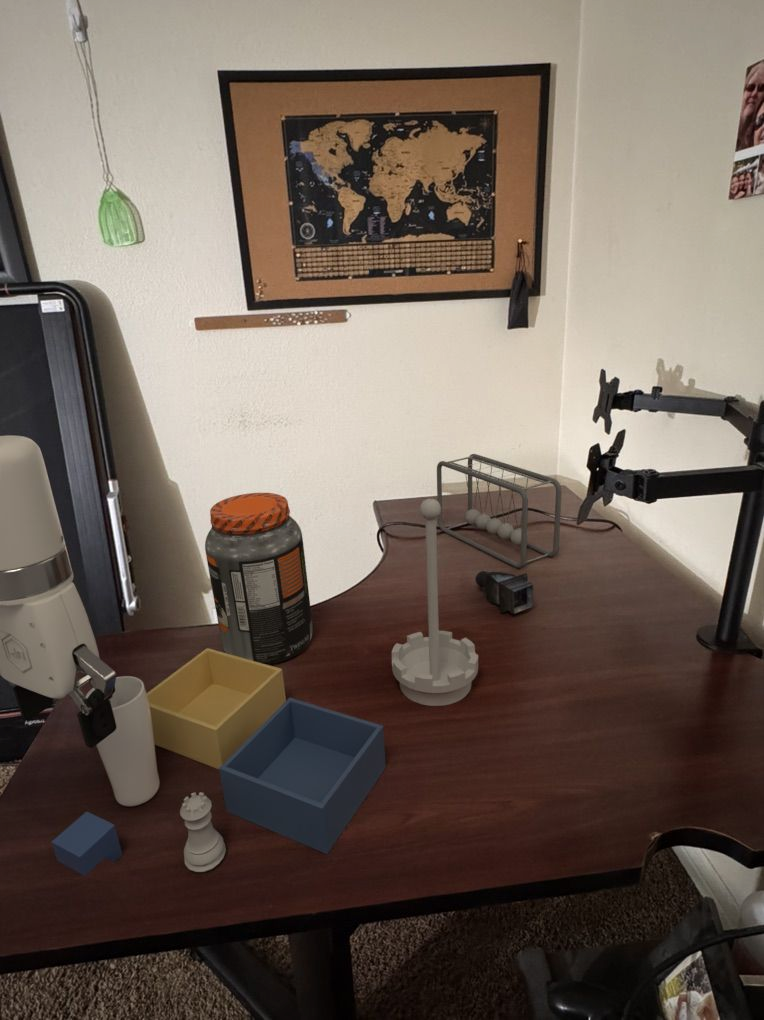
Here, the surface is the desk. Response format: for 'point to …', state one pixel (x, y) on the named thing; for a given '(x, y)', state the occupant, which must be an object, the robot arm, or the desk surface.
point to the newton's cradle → (495, 524)
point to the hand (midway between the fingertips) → (69, 724)
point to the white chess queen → (201, 835)
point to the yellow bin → (214, 705)
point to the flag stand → (434, 643)
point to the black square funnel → (507, 590)
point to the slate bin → (304, 773)
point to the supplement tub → (259, 578)
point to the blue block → (87, 843)
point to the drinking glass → (130, 744)
